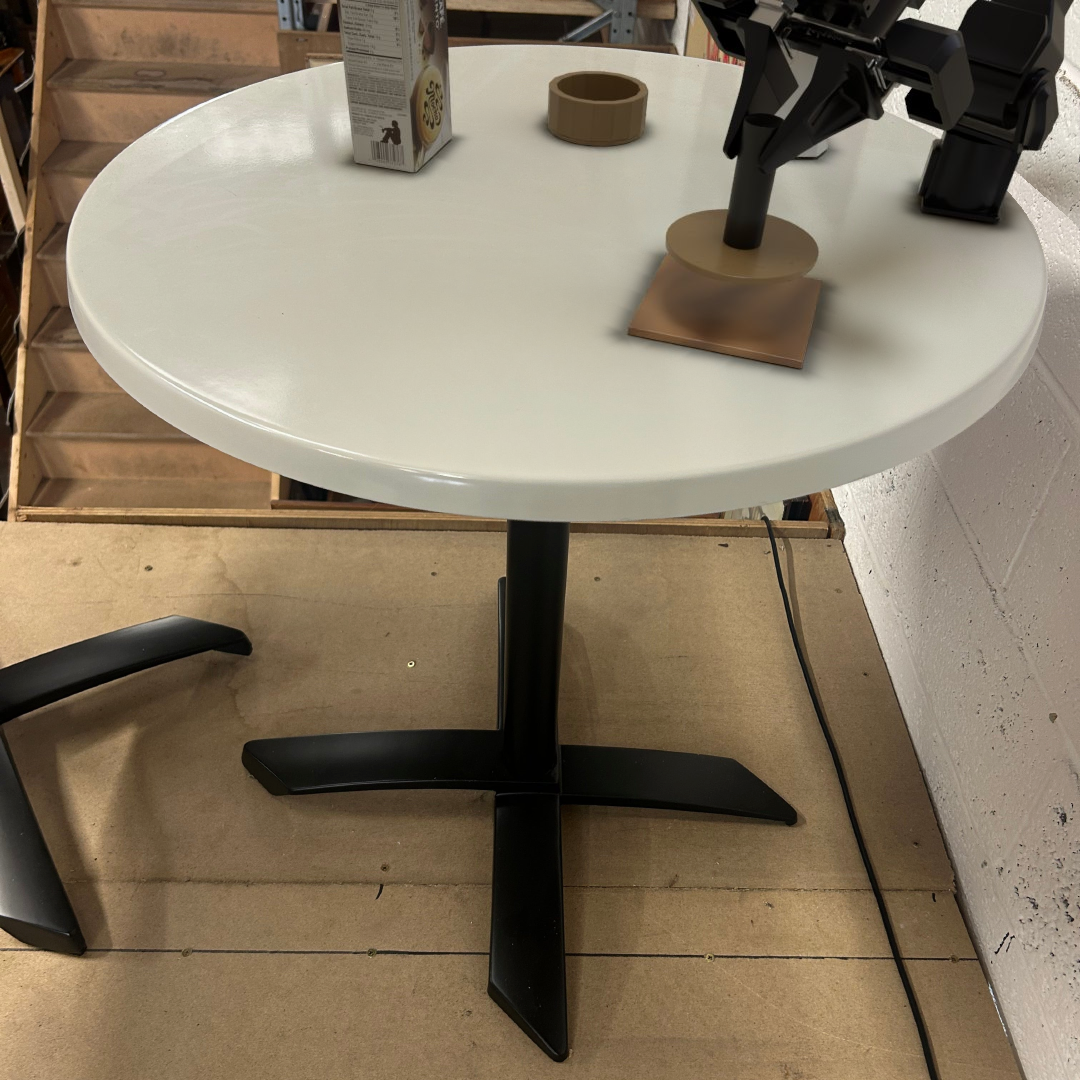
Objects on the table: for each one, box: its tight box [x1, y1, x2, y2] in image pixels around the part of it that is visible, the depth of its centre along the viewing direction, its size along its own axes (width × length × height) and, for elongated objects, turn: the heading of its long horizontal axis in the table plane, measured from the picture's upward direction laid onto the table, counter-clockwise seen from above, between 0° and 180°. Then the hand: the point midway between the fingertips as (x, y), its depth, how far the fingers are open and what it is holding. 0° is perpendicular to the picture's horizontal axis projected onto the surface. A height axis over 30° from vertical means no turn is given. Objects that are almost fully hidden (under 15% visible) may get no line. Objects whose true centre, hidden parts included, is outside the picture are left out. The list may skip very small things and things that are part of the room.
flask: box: [775, 51, 829, 158], centre depth 86 cm, size 7×7×10 cm
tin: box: [547, 70, 649, 147], centre depth 90 cm, size 10×10×4 cm
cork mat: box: [627, 252, 823, 369], centre depth 66 cm, size 12×12×1 cm
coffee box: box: [336, 0, 453, 173], centre depth 80 cm, size 9×6×16 cm
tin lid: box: [664, 113, 820, 285], centre depth 60 cm, size 10×10×9 cm
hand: (743, 162), depth 58 cm, fingers closed on tin lid, 2 cm apart
